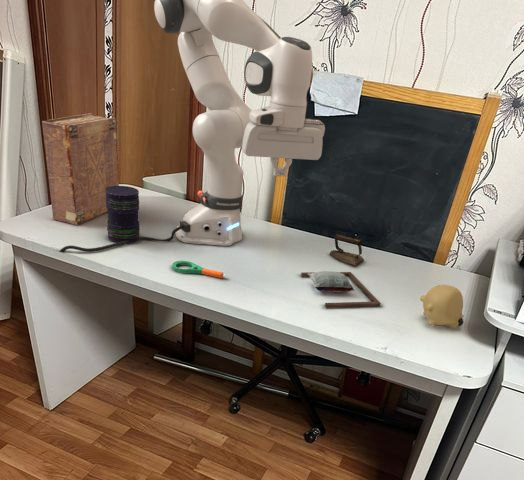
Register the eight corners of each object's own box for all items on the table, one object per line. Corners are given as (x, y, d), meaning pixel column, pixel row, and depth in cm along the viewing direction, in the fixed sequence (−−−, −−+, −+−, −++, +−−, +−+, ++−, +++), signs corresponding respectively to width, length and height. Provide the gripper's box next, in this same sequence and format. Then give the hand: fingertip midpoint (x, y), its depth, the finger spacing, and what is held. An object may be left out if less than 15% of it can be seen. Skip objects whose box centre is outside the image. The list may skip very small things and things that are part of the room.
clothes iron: (356, 269, 158) (355, 239, 153) (325, 266, 164) (322, 237, 159) (365, 261, 163) (364, 231, 158) (334, 258, 169) (332, 230, 164)
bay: (325, 308, 132) (326, 304, 132) (300, 275, 148) (301, 272, 148) (380, 306, 137) (380, 303, 136) (349, 274, 153) (350, 271, 152)
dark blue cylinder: (129, 246, 152) (127, 197, 144) (101, 239, 154) (98, 190, 146) (145, 236, 160) (145, 190, 152) (119, 230, 162) (117, 183, 154)
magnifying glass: (168, 269, 141) (168, 264, 140) (178, 262, 146) (178, 257, 145) (217, 282, 138) (218, 276, 137) (226, 274, 143) (226, 269, 142)
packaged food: (306, 281, 145) (309, 265, 142) (345, 283, 147) (348, 267, 145) (313, 295, 138) (316, 279, 135) (353, 296, 140) (357, 281, 137)
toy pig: (440, 343, 131) (479, 322, 127) (421, 311, 125) (461, 289, 121) (429, 323, 139) (465, 303, 135) (410, 292, 133) (447, 271, 130)
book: (98, 201, 184) (92, 112, 168) (120, 206, 182) (116, 117, 166) (52, 219, 163) (41, 120, 147) (77, 225, 161) (68, 126, 145)
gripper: (321, 118, 126) (312, 174, 133) (243, 111, 120) (238, 170, 127) (331, 122, 121) (321, 180, 128) (249, 116, 115) (244, 177, 122)
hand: (279, 175), depth 128 cm, fingers closed
